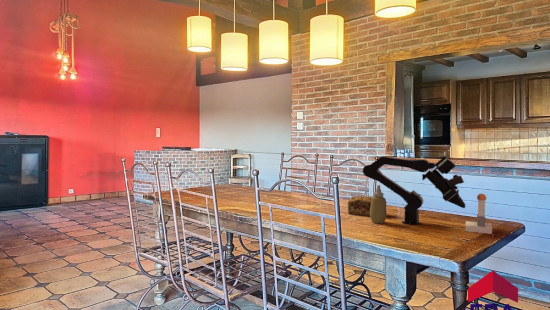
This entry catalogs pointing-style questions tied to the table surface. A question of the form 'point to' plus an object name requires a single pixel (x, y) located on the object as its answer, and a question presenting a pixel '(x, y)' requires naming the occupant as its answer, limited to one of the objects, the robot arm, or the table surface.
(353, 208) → the bread
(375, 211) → the squeeze bottle
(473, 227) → the block
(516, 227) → the table surface
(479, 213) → the lever
